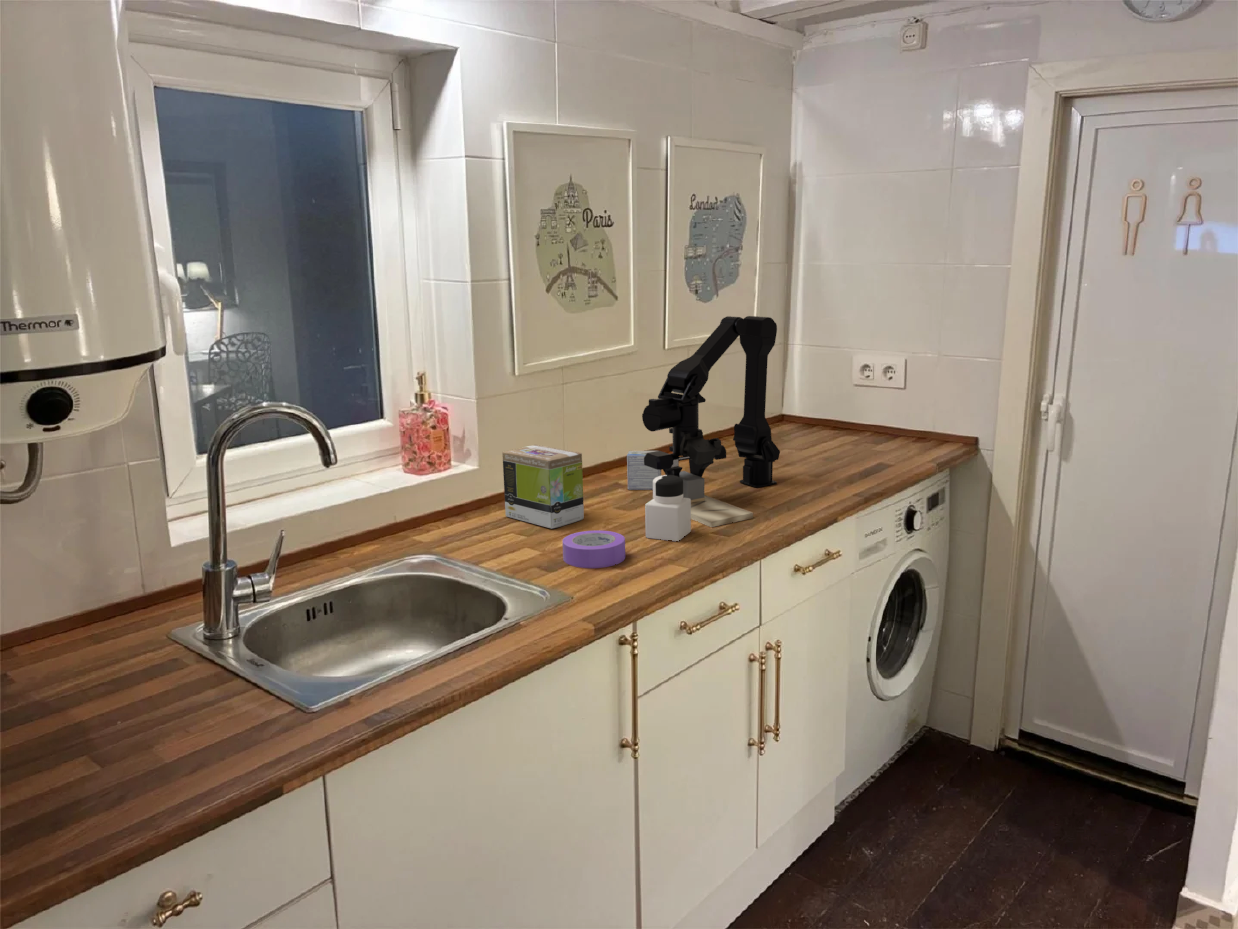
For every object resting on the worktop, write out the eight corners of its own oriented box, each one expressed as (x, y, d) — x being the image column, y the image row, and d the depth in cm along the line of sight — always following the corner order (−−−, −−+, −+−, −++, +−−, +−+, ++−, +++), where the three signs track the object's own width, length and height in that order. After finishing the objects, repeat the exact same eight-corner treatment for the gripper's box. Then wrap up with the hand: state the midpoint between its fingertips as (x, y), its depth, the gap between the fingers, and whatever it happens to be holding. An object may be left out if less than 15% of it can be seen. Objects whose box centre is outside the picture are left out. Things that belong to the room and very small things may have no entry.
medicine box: (661, 485, 226) (661, 450, 224) (660, 490, 222) (660, 454, 220) (629, 485, 227) (628, 450, 225) (627, 490, 223) (626, 454, 220)
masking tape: (554, 554, 180) (553, 534, 179) (610, 545, 184) (610, 526, 183) (576, 573, 169) (575, 553, 168) (635, 563, 174) (635, 543, 173)
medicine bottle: (691, 531, 190) (691, 474, 188) (678, 542, 184) (678, 483, 181) (658, 528, 193) (658, 471, 191) (645, 538, 187) (644, 479, 184)
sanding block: (684, 492, 215) (684, 470, 213) (704, 500, 208) (704, 478, 207) (668, 495, 212) (667, 473, 211) (687, 503, 206) (687, 481, 204)
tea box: (585, 519, 200) (583, 451, 197) (551, 530, 193) (548, 460, 190) (538, 507, 210) (535, 442, 207) (503, 517, 203) (500, 450, 200)
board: (691, 495, 217) (691, 490, 217) (753, 518, 199) (753, 512, 198) (651, 503, 211) (651, 498, 211) (711, 527, 193) (711, 521, 193)
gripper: (671, 436, 195) (672, 508, 199) (742, 425, 204) (741, 494, 208) (642, 427, 204) (643, 496, 208) (711, 417, 213) (711, 483, 217)
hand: (685, 493), depth 210 cm, fingers closed on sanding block, 4 cm apart
